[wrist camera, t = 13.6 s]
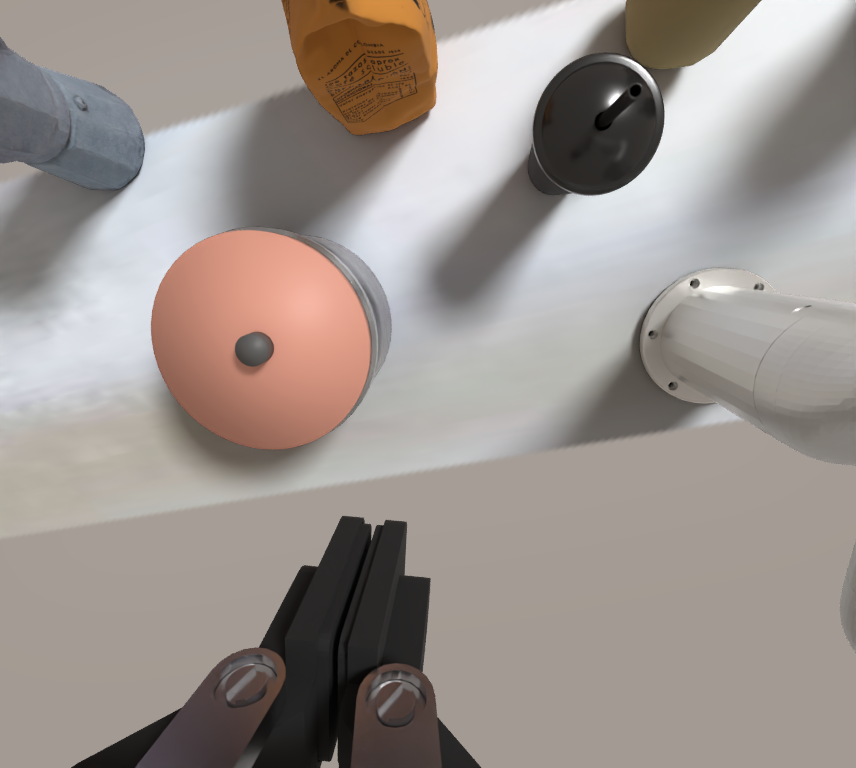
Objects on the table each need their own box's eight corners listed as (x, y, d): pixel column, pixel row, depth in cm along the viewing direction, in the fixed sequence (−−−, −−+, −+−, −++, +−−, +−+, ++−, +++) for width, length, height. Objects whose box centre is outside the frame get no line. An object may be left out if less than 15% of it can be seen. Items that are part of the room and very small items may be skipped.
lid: (374, 237, 34) (367, 236, 31) (369, 451, 39) (363, 465, 36) (149, 224, 35) (125, 222, 32) (171, 435, 39) (152, 447, 37)
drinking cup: (517, 219, 42) (560, 194, 23) (506, 127, 40) (542, 15, 21) (603, 203, 41) (723, 162, 22) (596, 108, 39) (722, -28, 20)
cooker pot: (397, 237, 43) (378, 233, 34) (391, 414, 48) (373, 454, 39) (215, 226, 44) (146, 220, 35) (227, 401, 49) (170, 437, 40)
